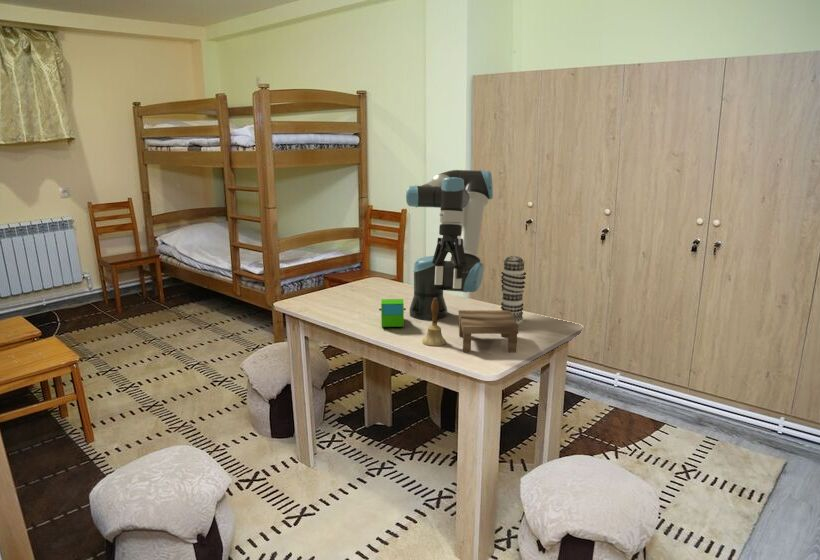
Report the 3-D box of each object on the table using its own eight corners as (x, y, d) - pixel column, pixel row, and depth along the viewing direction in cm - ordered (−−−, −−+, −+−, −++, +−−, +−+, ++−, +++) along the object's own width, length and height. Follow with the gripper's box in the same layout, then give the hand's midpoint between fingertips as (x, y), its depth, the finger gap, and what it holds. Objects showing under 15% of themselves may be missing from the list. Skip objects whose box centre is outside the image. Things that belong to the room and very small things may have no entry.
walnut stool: (458, 334, 204) (458, 310, 202) (508, 334, 204) (509, 310, 202) (462, 352, 186) (463, 326, 184) (517, 352, 186) (518, 326, 184)
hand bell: (449, 339, 198) (449, 296, 194) (441, 347, 191) (442, 302, 187) (426, 336, 201) (427, 293, 197) (418, 344, 194) (419, 299, 190)
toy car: (405, 318, 222) (405, 293, 220) (406, 329, 209) (406, 303, 207) (379, 318, 222) (379, 294, 219) (378, 329, 209) (378, 303, 206)
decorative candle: (522, 325, 214) (525, 260, 208) (497, 323, 216) (500, 259, 210) (524, 318, 222) (528, 255, 216) (501, 316, 225) (503, 254, 219)
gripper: (424, 223, 201) (421, 283, 202) (458, 223, 178) (455, 290, 179) (443, 224, 204) (440, 283, 205) (479, 224, 181) (475, 290, 183)
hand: (447, 286), depth 192 cm, fingers open, 13 cm apart
